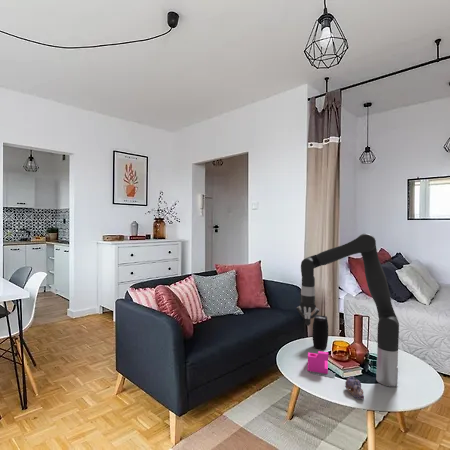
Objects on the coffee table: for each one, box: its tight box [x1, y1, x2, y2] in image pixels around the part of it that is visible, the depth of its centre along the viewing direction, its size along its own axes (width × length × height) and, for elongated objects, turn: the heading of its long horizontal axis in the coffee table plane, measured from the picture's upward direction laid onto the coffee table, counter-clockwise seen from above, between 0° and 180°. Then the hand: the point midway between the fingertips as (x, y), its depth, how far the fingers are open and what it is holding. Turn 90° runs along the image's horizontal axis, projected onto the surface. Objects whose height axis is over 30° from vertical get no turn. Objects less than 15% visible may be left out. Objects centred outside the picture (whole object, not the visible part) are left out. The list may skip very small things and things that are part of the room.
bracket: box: [307, 350, 329, 374], centre depth 173 cm, size 12×10×10 cm
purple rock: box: [344, 375, 365, 401], centre depth 148 cm, size 12×8×6 cm, turn 174°
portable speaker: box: [312, 314, 329, 351], centre depth 199 cm, size 9×9×20 cm
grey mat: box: [309, 370, 336, 379], centre depth 171 cm, size 12×14×1 cm
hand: (307, 325), depth 176 cm, fingers closed
